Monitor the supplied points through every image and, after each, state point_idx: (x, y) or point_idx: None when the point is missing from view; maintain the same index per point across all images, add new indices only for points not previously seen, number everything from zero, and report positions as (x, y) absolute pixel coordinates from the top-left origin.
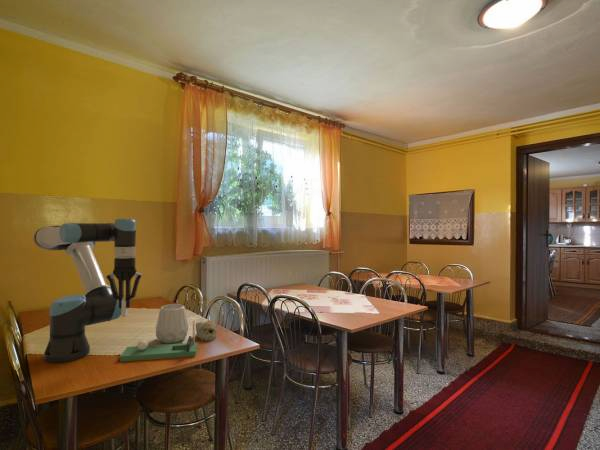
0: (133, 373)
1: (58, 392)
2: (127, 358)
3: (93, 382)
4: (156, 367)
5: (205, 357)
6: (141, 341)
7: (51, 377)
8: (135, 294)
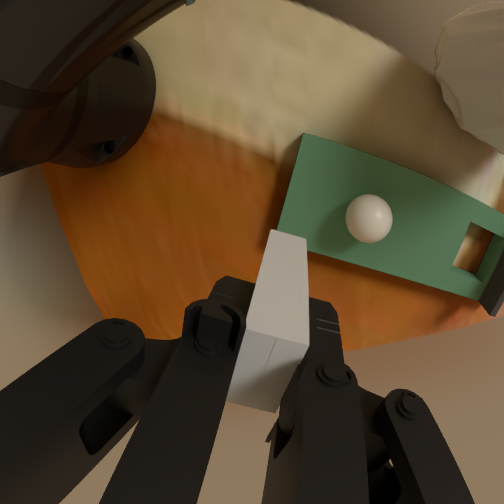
0: None
1: None
2: None
3: None
4: (377, 331)
5: (498, 315)
6: (367, 233)
7: (103, 267)
8: (426, 441)
